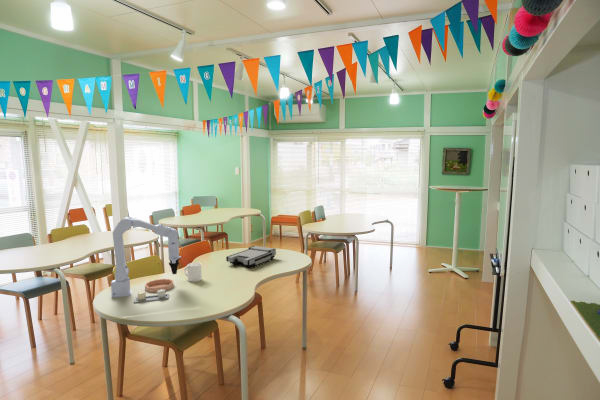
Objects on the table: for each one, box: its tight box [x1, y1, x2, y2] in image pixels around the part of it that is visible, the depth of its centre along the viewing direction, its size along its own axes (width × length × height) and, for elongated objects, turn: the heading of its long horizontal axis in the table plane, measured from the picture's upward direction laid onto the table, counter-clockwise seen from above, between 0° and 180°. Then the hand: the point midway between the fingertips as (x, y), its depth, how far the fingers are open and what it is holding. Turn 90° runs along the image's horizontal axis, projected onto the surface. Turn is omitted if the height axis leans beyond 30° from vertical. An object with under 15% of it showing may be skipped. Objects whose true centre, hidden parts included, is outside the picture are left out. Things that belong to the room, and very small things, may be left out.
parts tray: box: [133, 293, 170, 304], centre depth 200 cm, size 17×7×1 cm, turn 108°
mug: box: [184, 262, 203, 283], centre depth 233 cm, size 12×8×10 cm
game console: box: [226, 245, 277, 268], centre depth 271 cm, size 21×32×8 cm, turn 149°
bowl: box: [144, 278, 175, 293], centre depth 218 cm, size 16×16×3 cm
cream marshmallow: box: [136, 291, 147, 301], centre depth 198 cm, size 4×4×4 cm
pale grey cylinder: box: [156, 289, 166, 299], centre depth 201 cm, size 4×4×4 cm
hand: (174, 272), depth 216 cm, fingers open, 7 cm apart
